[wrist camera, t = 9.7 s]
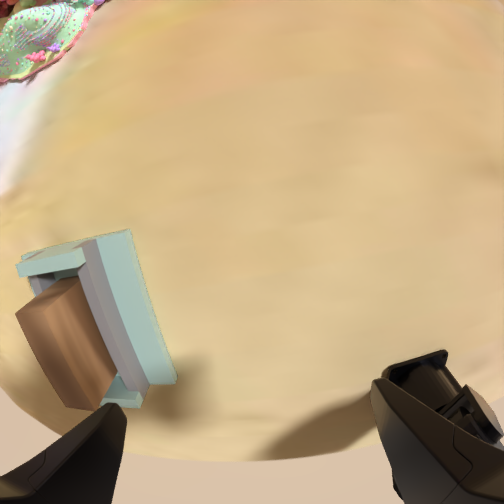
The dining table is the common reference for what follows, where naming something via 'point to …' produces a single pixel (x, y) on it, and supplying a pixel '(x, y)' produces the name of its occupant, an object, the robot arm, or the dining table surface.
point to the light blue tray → (111, 308)
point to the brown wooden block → (68, 344)
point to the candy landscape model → (39, 33)
